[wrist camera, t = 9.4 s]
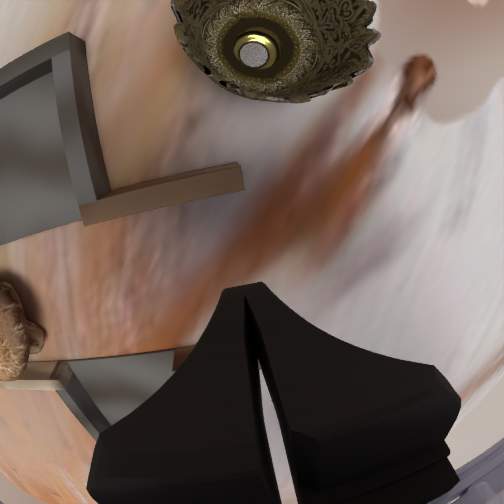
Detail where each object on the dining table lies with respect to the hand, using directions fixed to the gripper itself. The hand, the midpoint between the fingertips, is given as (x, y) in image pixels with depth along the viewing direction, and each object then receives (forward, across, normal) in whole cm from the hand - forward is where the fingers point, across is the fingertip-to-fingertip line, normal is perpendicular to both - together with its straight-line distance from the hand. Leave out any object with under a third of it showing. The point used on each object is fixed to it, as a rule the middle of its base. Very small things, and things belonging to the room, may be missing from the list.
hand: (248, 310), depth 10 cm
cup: (+10, -3, -10) cm, 14 cm away
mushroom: (+10, +19, +3) cm, 22 cm away
